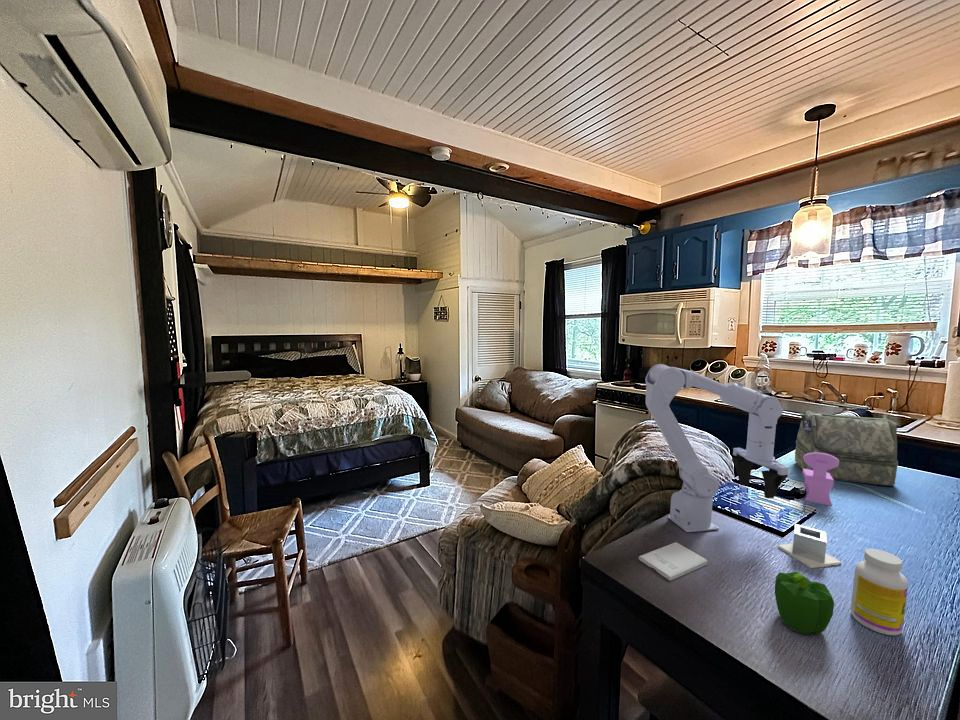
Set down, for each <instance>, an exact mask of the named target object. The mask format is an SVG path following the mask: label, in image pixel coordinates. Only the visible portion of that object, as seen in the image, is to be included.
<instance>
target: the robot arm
mask: <svg viewBox="0 0 960 720" xmlns="http://www.w3.org/2000/svg"><path fill="white" fill-rule="evenodd" d="M644 380H645V385H646V386H645V406H646V409H647V410H648V411H649V413H650V415H651V417H652V419H653V420H654V422H655V424H656V426H657V428H658V429H659V431H660V433H661V434H662V436H663V438H664V440H665V441H666V443H667V445H668V447H669V448H670V451H671V452H672V454H673V455H674V457H675V459H676V464H677V467H678V471H679V474H678V475H679V477H680V479H681V480H682V482H683V483H682V485H681V489H680V490H678V491H676V492H674V493H672V494H671V496H670V508H669V509H670V510H669V511H670V512H669V515H668V516H667V518H668V519H669V520H670V521H672V522H673V523H674V524H676V525H677V526H678V527H679V528H681V529H682V530H683V531H684V532H686V533H695V532H696V533H697V532H704V531H714V530H716V531H717V530H719V529H720V527H719V526H718V525H716V524H715V523H713V522H712V515H713V514H712V513H713V501H714V498H713V497H714V495H715V494H717V492H718V491H719V487H720V484H719V480H718V479H717V477H715V475H713V474H712V473H710V472H709V470H708V468H707V467H706V465H704V463H703V462H702V461H701V459H699V457H698V455H697V453H696V452H695V450H694V448H693V446H692V445H691V442H690V441H689V440H688V438H687V436H686V433H685V432H684V430H683V429H682V427H681V425H680V424H679V423H680V422H678V420H677V417H676V416H675V415H674V413H673V411H672V410H671V407H670V404H671V402H672V400H673V398H675V397H676V395H677V394H679V392H680V391H681V390H682V389H685V390H688V389H689V388H692V387H693V388H698V389H700V390H703V391H705V392H709V393H711V394H714V395H716V396H719V399H720V400H721V402H722V403H723V404H726V405H729V406H731V407H734V408H737V409H739V410H742V411H744V412H747V413H748V423H747V424H748V426H747V437H746V448H745V449H744V448H742V447H733V448H732V450H733V452H732V455H733V456H735V457H732V458H731V463H733V465H734V467H735V471H736V472H737V476H738V477H737V478H738V482H739V485H740V486H741V487H742V486H749V485H750V481H751V474H752V469H753V467H754V465H755V464H756V465H759V466H761V467H763V468H765V469H768V470H761V475H762V479H763V484H764V486H763V487H764V489H763V496H764V498H765V499H774V498H775V496H776V493H777V491H778V490H779V488H780V485H782V483H783V482H784V481H785V480H786V479H787V478H788V477H789V466H787V465H784V464H783V463H781V462H779V461H778V460H776V457H775V456H774V452H775V451H774V449H775V439H776V429H777V428H776V427H777V425H778V419H779V418H780V417H782V414H783V412H784V408H783V407H782V403H781V401H779V399H777V398H776V397H774V396H770V395H768V394H764V393H763V391H762V390H760V389H752V388H749V387H747V386H745V384H744V383H742V382H740V381H736V382H734V381H733V382H732V381H731V382H727V383H725V384H723V383H721V382H720V381H719V382H718V381H716V380H714V379H711V378H709V377H706V376H704V375H702V374H699V373H697V372H694V371H691V370H688V369H684V368H679V367H675V366H668V365H666V364H664V363H657V364H654V365H653V366H652V367H650V369H649V370H648V372H647V374H646V376H645V379H644Z"/></svg>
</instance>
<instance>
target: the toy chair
mask: <svg viewBox="0 0 960 720" xmlns="http://www.w3.org/2000/svg"><path fill="white" fill-rule="evenodd" d="M803 459H804V462H805V463H806V464H807V465H809V466H810V467H812V468H813V470H809V469H803V470H802V476H803V477H804V483H803V485H802V487H803V486H804V487H805V489H806V492H805V493H807V495H806V497H805V499H804V501H805V502H806V501H807V502H811V503H816V504H822V505H827V506H833V503H832V501H831V498H830V492H831V490H832V488H833V487H834V483H835V480H834V479H833V478H832V477H831V475H830V473H827V470H830V469H833V468H836V467H837V466H838V465H839V460H838V459H837V458H836V457H834V456H832V455H829V454H825V453H818V452H814V453H807V454H805V455H804V456H803Z"/></svg>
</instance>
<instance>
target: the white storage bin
mask: <svg viewBox="0 0 960 720" xmlns="http://www.w3.org/2000/svg"><path fill="white" fill-rule="evenodd" d="M805 534H808V535H805ZM809 535H812V536H814V537H812V536H809ZM792 543H793V551H792V554H795V555H798V556H801V557H804V558H808V559H811V560H814V561H817V562H821V563H825V553H826V552H827V543H828V542H827V532H826V531H825V530H819V529H817V528H816V529H815V528H813V527H809V526H805V525H802V524H797V523H795V524H794V531H793V542H792Z"/></svg>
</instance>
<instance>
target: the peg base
mask: <svg viewBox="0 0 960 720" xmlns="http://www.w3.org/2000/svg"><path fill="white" fill-rule="evenodd" d="M805 535H808V534H805ZM809 536H812V535H809ZM812 537H814V536H812ZM777 548H778V549H780V550H781V551H783V552H784V553H786V554H788V555H790V556H791V557H793V558H794V559H796V560H797V561H798V562H800V563H801V564H804V565H805V566H807V567H808V568H810V569H816V568H823V567H824V568H825V567H832V566H831V565H834V566H840V565H839V564H841V565H842V561H840V560H839V559H837V558H835V557H833V556H832V555H830V554H828V553H825V563H821V562H817V561H814V560H811V559H808V558H804V557H801V556H798V555H795V554H792V551H793V542H791V543H784V544H778V545H777Z"/></svg>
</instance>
